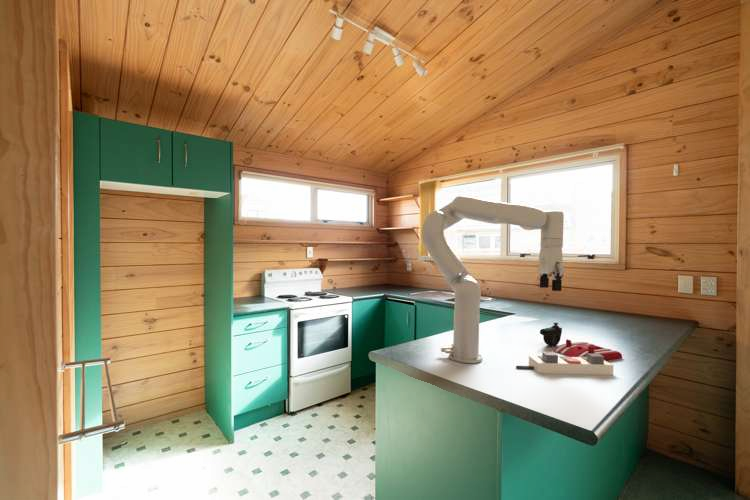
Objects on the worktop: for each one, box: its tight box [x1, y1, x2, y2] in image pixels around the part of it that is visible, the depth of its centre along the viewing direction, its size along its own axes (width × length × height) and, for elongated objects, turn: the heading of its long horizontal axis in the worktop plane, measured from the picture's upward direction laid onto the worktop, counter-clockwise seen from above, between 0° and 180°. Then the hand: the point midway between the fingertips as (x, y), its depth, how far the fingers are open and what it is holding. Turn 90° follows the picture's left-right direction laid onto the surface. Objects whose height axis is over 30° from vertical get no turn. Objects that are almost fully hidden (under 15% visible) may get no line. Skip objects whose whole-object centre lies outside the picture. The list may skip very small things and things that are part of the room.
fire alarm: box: [552, 338, 623, 362], centre depth 147 cm, size 16×6×20 cm
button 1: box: [541, 351, 559, 363], centre depth 127 cm, size 4×3×3 cm
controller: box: [539, 322, 563, 347], centre depth 159 cm, size 4×12×10 cm, turn 122°
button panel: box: [515, 355, 614, 376], centre depth 129 cm, size 32×8×4 cm, turn 89°
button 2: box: [565, 358, 581, 364], centre depth 127 cm, size 4×3×3 cm
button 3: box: [587, 353, 604, 365], centre depth 127 cm, size 4×3×3 cm
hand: (550, 289), depth 134 cm, fingers open, 9 cm apart
